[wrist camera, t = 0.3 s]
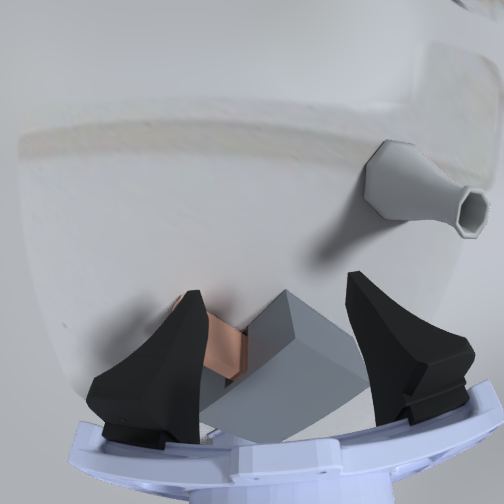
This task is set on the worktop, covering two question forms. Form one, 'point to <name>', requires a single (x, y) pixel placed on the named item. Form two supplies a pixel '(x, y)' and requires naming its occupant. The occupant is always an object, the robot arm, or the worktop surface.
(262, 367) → the block
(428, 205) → the flask
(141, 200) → the worktop surface
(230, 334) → the strip
